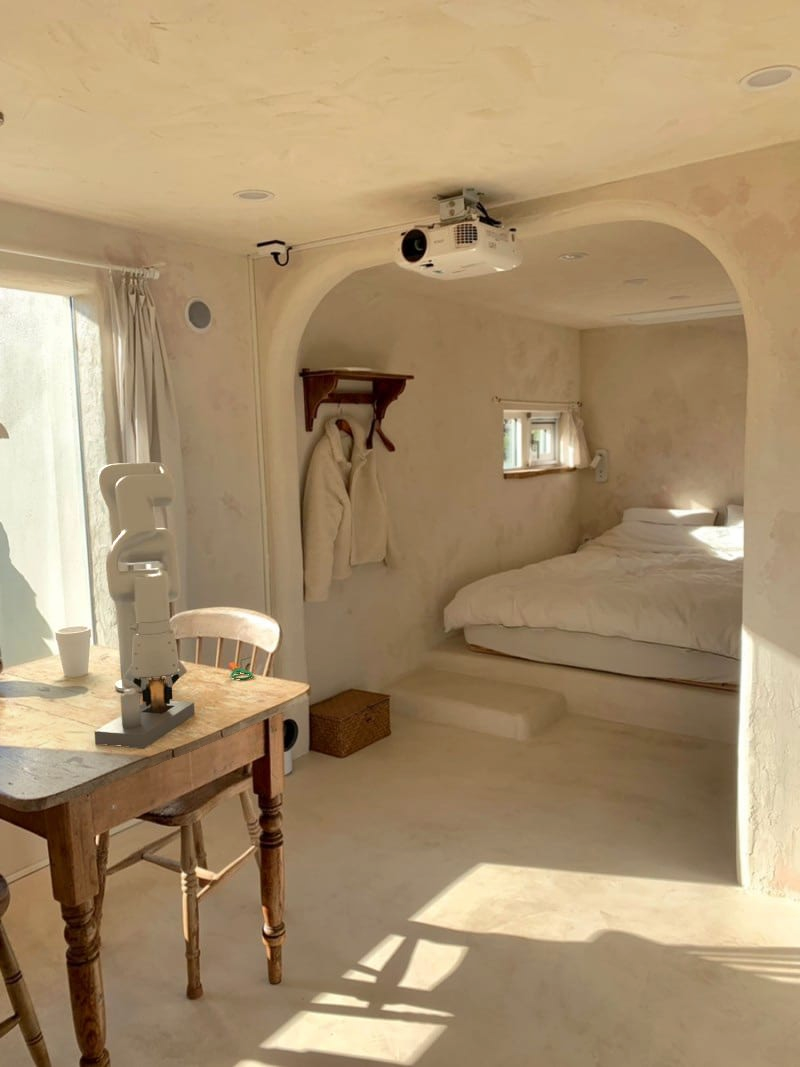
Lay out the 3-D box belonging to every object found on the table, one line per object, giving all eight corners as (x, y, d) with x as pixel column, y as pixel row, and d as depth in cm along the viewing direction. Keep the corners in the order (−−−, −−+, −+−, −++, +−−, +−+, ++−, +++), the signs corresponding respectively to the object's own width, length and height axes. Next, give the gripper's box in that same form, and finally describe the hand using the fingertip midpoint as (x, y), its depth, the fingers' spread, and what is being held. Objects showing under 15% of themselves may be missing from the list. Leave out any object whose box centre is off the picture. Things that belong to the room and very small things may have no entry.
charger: (150, 711, 199) (147, 667, 198) (194, 714, 196) (192, 670, 195) (95, 744, 178) (92, 695, 177) (144, 748, 175) (141, 698, 174)
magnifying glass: (255, 680, 225) (255, 674, 224) (233, 683, 222) (233, 677, 222) (242, 666, 238) (242, 661, 238) (221, 669, 236) (221, 663, 236)
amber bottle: (155, 711, 194) (153, 670, 193) (170, 712, 193) (168, 671, 192) (146, 716, 190) (143, 674, 189) (161, 717, 189) (159, 675, 188)
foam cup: (51, 677, 230) (47, 632, 228) (73, 668, 239) (70, 625, 237) (79, 679, 227) (76, 634, 226) (100, 670, 236) (97, 626, 234)
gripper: (114, 633, 183) (119, 712, 185) (190, 627, 188) (195, 704, 190) (116, 626, 191) (121, 702, 193) (190, 620, 195) (194, 695, 197)
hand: (158, 702), depth 191 cm, fingers closed on amber bottle, 4 cm apart
